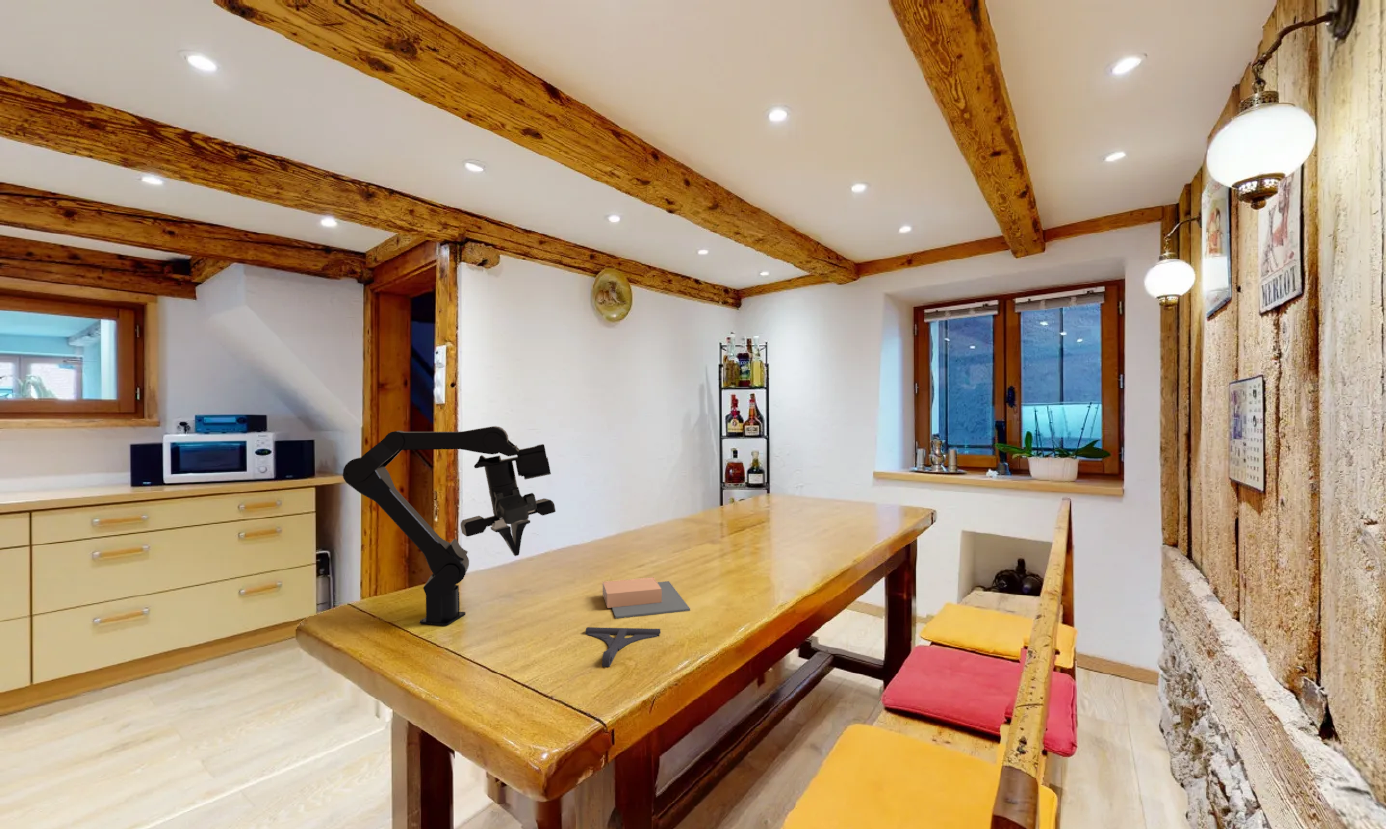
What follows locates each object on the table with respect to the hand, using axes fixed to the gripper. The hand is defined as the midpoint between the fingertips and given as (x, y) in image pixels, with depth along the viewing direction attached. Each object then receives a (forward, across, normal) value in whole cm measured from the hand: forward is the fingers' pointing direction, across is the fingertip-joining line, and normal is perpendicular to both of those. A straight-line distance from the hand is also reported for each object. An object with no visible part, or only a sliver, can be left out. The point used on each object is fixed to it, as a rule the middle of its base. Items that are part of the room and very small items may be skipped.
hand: (516, 555), depth 119 cm
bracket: (+16, +8, -28) cm, 33 cm away
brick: (+13, +16, -5) cm, 21 cm away
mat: (+17, +24, -7) cm, 30 cm away
